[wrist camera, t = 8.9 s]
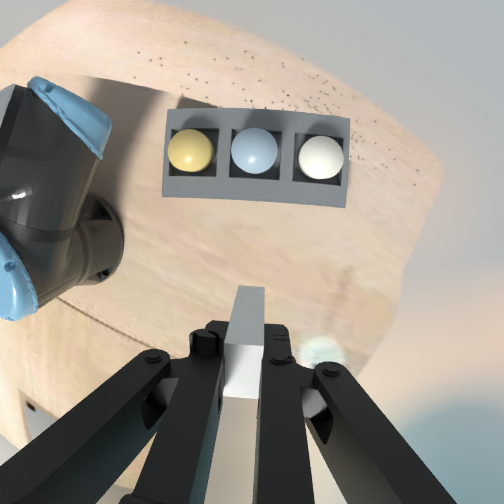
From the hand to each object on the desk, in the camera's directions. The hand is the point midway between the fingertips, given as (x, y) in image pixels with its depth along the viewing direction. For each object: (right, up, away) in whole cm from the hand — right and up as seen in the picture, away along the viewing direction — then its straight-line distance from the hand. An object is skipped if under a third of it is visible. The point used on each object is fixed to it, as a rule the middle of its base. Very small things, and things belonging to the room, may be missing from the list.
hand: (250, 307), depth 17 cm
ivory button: (+9, +15, +20) cm, 27 cm away
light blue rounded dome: (+1, +16, +19) cm, 24 cm away
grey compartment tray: (+1, +16, +21) cm, 27 cm away
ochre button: (-7, +17, +20) cm, 27 cm away
